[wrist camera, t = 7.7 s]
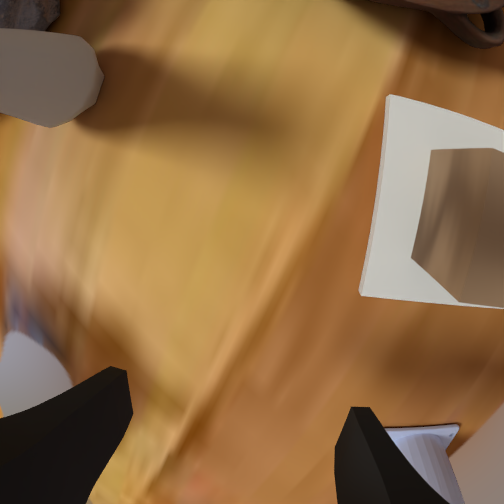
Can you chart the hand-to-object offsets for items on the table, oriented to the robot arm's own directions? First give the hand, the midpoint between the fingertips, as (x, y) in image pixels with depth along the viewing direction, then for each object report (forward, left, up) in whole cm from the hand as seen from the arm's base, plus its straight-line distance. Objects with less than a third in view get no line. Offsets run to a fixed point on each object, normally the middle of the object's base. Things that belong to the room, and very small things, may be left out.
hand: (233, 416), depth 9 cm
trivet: (+7, -11, -10) cm, 16 cm away
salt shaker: (+12, +13, -10) cm, 20 cm away
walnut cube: (+6, -11, -9) cm, 16 cm away
